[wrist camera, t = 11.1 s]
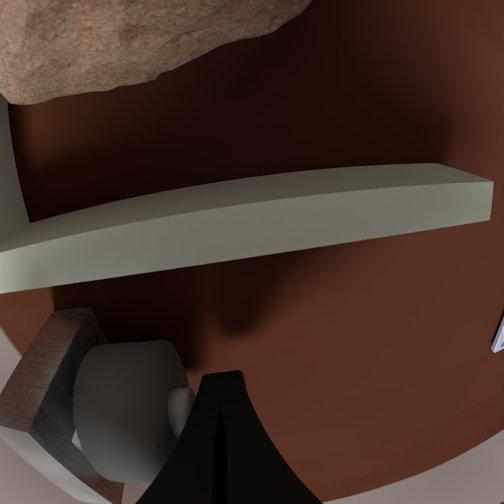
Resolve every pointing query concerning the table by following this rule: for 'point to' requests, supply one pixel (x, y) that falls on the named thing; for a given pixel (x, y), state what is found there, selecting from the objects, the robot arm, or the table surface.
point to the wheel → (131, 408)
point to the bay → (226, 219)
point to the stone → (118, 40)
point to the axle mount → (55, 406)
